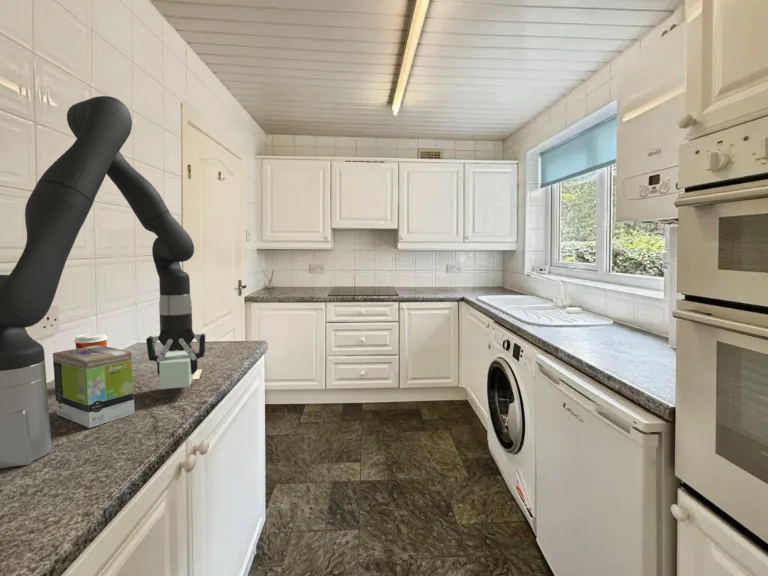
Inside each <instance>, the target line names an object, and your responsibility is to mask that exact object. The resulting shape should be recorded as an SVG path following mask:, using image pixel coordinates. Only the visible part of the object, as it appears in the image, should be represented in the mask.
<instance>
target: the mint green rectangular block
mask: <svg viewBox="0 0 768 576" xmlns="http://www.w3.org/2000/svg"><path fill="white" fill-rule="evenodd" d="M191 360H192V359H191V357H190V356H189V354H187V352H186V351H185V350H183V351H179V350H177V351H168V352H167V354H166V355H165V357H164V358H162V360H161V361H160V363H159V373H160V375H159V390H166V389H167V390H168V389H178V388H189V387H191V384H192V382H193V380H192V379H193V376H194V374H191Z"/></svg>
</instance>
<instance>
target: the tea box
mask: <svg viewBox="0 0 768 576" xmlns="http://www.w3.org/2000/svg"><path fill="white" fill-rule="evenodd" d="M132 356H133V355H132V352H131V351H129V350H123V349H118V348H113V347H109V346H107V347H105V346H100V345H96V346H90V347H84V348H78V349H76V348H74V349H69V350H61V351H56V352H53V353H52V359H53V360H52V363H53V375H54V376H53V377H54V393H55V408H56V414H57V416H61V417H63V418H65V419H67V420H70V421H72V422H73V423H77V424H79V425H80V426H84V427H86V428H88V429H90V428H94V427H97V426H101V425H103V424H104V423H105V424H106V423H110V422H113V421H117V420H120V419H122V418H125V417H128V416H130V415H134V413H135V397H134V396H135V394H134V376H133V373H134V372H133V357H132Z"/></svg>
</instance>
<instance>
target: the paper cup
mask: <svg viewBox="0 0 768 576" xmlns="http://www.w3.org/2000/svg"><path fill="white" fill-rule="evenodd" d="M108 339H109V337H108V336H107V334H106V333H104V332H89V333H82V334H79V335H76V336H75V338H74V340H73V343H75V349H78V348H84V347H90V346H96V345H100V346H105V347H108V345H107V344H108V343H107V341H108Z"/></svg>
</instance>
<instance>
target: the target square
mask: <svg viewBox="0 0 768 576" xmlns="http://www.w3.org/2000/svg"><path fill="white" fill-rule="evenodd" d="M202 371H203V369H202V368H201V369H199V368H197V371H196V372H195V373H194V376H193V379H192V381H195V380H200V379H201V378H200V377H201V375H200V374H202Z"/></svg>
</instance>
